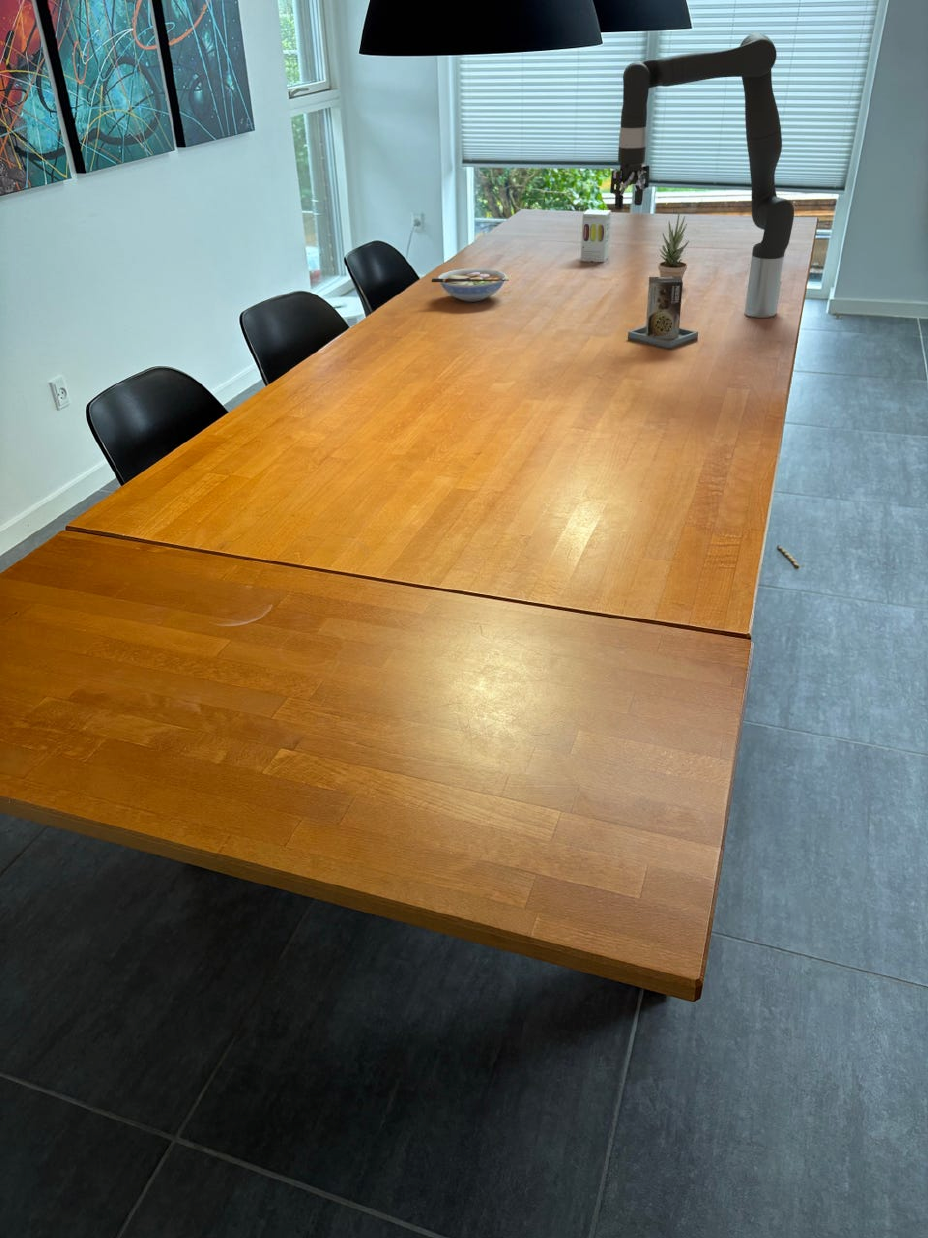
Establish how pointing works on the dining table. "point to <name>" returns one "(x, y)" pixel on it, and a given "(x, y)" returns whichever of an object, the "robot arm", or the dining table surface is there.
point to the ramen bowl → (471, 283)
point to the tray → (668, 344)
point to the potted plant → (673, 253)
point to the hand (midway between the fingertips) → (628, 206)
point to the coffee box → (664, 307)
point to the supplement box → (595, 235)
